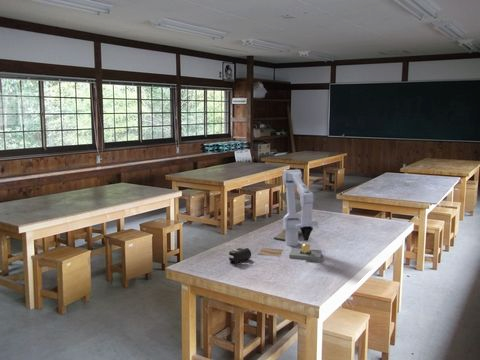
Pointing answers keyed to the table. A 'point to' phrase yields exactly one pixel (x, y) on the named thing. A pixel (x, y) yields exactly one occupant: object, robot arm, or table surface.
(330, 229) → the table surface
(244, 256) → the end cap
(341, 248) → the table surface
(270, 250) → the stand pad
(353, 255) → the table surface
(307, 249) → the brass peg
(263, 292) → the table surface
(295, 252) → the grey square socket plate
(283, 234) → the embossing press
